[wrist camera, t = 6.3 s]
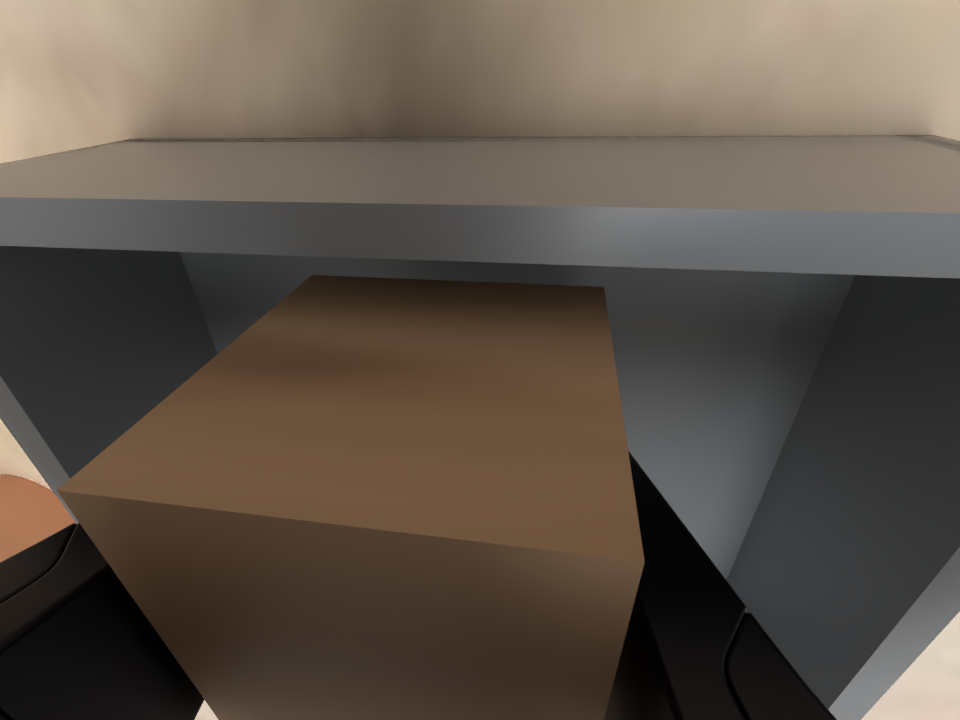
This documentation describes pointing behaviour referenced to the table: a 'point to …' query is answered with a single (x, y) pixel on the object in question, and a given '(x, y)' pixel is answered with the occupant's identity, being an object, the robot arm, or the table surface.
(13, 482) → the cylinder
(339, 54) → the table surface
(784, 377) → the tote
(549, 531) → the cube
